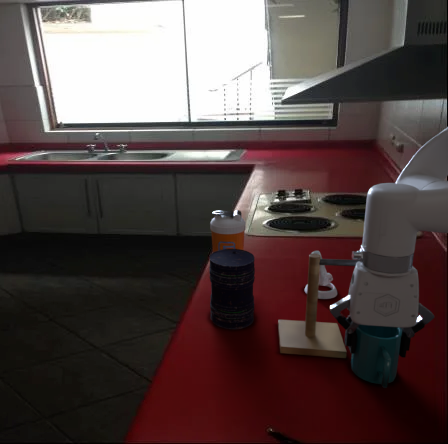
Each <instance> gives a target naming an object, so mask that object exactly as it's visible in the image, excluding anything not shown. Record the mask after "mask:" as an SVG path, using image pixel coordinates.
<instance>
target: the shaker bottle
mask: <svg viewBox="0 0 448 444" xmlns="http://www.w3.org/2000/svg"><path fill="white" fill-rule="evenodd" d="M212 215H214V217H213V218H211V221H210V223H209V225H210V231H211V233H210V234H211V243H212V244H211V246H212V253H213V252H215V251H218V250H223V249H240V250H244V247H245V231H246V229H247V227H246V223H247V222H246V220H245V219H244V218H243V213H242V211H241V210H239V209H235V210H234V211H231V210H220V209H219V210H218V209H217V210H214V211H212Z"/></svg>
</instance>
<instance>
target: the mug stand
mask: <svg viewBox="0 0 448 444" xmlns="http://www.w3.org/2000/svg"><path fill="white" fill-rule="evenodd" d="M358 261H359V260H357V259H339V258H337V259H336V258H322V259H320V255H319V254H312V253H310V254H308V269H307V271H308V272H307V284H308V286H307V294H306V307H305V320H291V319H278V320H277V328H278V341H279V342H278V343H279V353H280V354H288V355H299V356H300V355H301V356H313V357H324V358H335V359H336V358H339V359H347V349H346V345H345V341H344V339H343V336H342V333H341V331H340V327H339V323H338V322H323V321H322V322H321V321H317V315H318V299H319V298H318V291H319V287H320V285H319V271H320V265H324V266H331V267H333V266H335V267H336V266H337V267H355V266H356V263H357V262H358Z"/></svg>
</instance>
